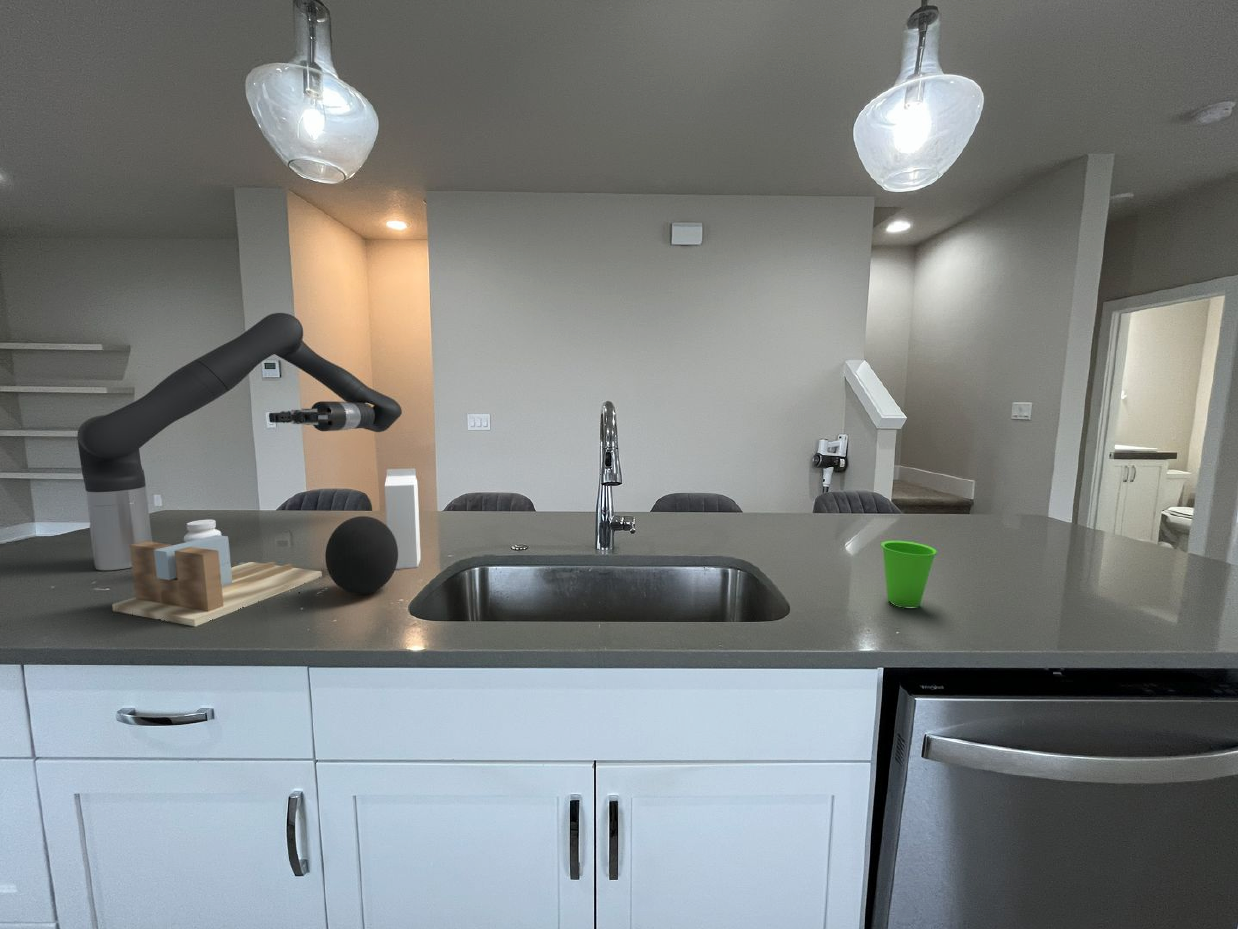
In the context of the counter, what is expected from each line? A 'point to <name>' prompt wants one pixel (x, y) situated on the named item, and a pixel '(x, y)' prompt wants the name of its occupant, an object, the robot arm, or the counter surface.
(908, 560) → the cup
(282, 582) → the jig
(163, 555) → the sliding plate
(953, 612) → the counter surface
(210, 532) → the pill bottle
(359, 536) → the decorative egg
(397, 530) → the milk
